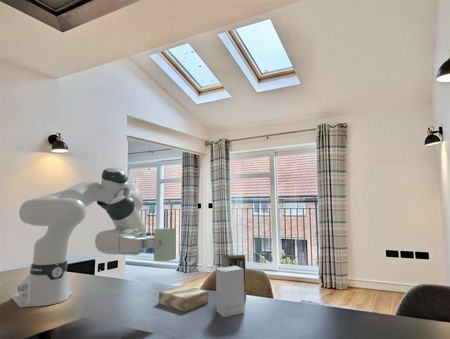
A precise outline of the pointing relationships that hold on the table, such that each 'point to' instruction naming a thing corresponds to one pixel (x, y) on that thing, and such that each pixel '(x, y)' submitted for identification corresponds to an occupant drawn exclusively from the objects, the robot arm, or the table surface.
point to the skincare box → (230, 291)
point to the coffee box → (236, 261)
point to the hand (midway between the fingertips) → (165, 242)
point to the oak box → (183, 297)
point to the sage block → (165, 244)
